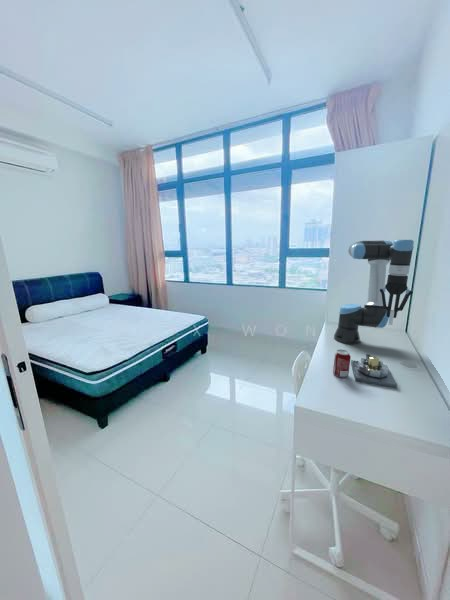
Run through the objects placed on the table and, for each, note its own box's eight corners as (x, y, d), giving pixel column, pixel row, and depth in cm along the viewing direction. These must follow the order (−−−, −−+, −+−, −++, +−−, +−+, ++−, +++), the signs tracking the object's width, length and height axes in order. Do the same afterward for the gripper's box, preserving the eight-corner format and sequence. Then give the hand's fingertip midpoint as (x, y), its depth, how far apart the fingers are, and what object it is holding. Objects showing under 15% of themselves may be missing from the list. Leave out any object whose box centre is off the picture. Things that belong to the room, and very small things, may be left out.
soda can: (349, 379, 114) (352, 355, 112) (334, 377, 116) (337, 354, 113) (346, 372, 121) (348, 349, 118) (331, 370, 122) (333, 348, 119)
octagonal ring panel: (389, 379, 110) (391, 371, 109) (359, 374, 114) (360, 367, 113) (380, 360, 127) (381, 354, 126) (354, 356, 131) (355, 350, 131)
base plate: (350, 363, 129) (352, 347, 127) (386, 369, 124) (388, 352, 121) (355, 381, 113) (357, 363, 111) (396, 388, 107) (399, 370, 105)
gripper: (381, 274, 111) (374, 324, 117) (417, 276, 105) (408, 328, 110) (380, 272, 117) (373, 319, 123) (414, 274, 111) (405, 323, 117)
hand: (390, 323), depth 117 cm, fingers closed
